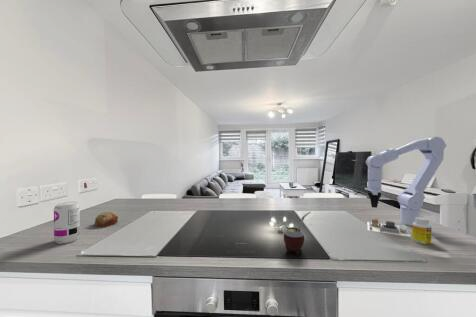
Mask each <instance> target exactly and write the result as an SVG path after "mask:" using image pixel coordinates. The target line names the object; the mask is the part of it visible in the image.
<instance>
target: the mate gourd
mask: <svg viewBox="0 0 476 317" xmlns="http://www.w3.org/2000/svg"><path fill="white" fill-rule="evenodd" d="M310 213H311V211H309V212H307V213H305V214H304V215H303V216H302V217H301V220H300V222H299V225H298V227H287V228H286V229H285V230H284V233H283V242H284V244H285V249H286V251H285V254H287V255H289V254H295V256H297V257H300V256H301V254H300V252H302V247H303V246H304V242H305V236H304V232H303V231H302V229H301V227H302V224H303V221H305V218H306V217H307V216H308V215H309V214H310Z"/></svg>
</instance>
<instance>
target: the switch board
mask: <svg viewBox="0 0 476 317" xmlns="http://www.w3.org/2000/svg"><path fill="white" fill-rule="evenodd" d="M366 223H367V231H369V232H377V233H383V234H389V235H396V236H402V237H409V238H412V234H410V232H409V231H408V229H407V232H404V231H400V229H399V225H395V228H389V227H386V223H381V222H378V227H377V226H372V221H367V222H366Z"/></svg>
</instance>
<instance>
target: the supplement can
mask: <svg viewBox="0 0 476 317" xmlns="http://www.w3.org/2000/svg"><path fill="white" fill-rule="evenodd" d="M80 213H81V211H80V204H79V203H78V202H77V201H67V202H61V203H56V204H55V206H54V208H53V242H54V243H56V245H57V244H58V245H63V244H70V243H72V242H75V241H77V240H78V239H79V238H80V237H81V226H80V225H81V222H80V221H81V220H80V219H81V215H80Z"/></svg>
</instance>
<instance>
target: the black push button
mask: <svg viewBox="0 0 476 317" xmlns="http://www.w3.org/2000/svg"><path fill="white" fill-rule="evenodd" d="M385 224H386V227H389V228H395V226H396V223H395V222H394V221H392V220H391V221H390V220H387V221H385Z"/></svg>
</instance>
